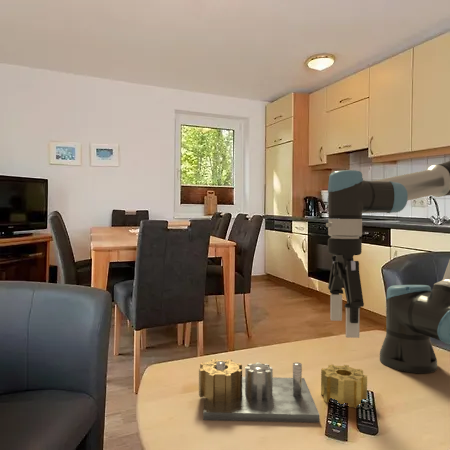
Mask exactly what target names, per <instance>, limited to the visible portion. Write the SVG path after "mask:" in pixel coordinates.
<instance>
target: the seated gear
mask: <svg viewBox="0 0 450 450" xmlns="http://www.w3.org/2000/svg"><path fill="white" fill-rule="evenodd" d="M218 361H224V362H225V370H217V362H218ZM199 367H200V368H198V397H200V398H205V399H206V398H207V399H208V402H212V403H214V402H215V401H224V402H226V403H230V402H231V400H232V399H235V398H241V397H242V377H243V365H242V363H241V362H239V363H236V362H235V361H233V360H232V359H230V358H229V359H226V360H224V359H217V358H212V359H210V361H207V362H203V361H202V362H201V363H200V364H199Z"/></svg>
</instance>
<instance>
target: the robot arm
mask: <svg viewBox="0 0 450 450" xmlns="http://www.w3.org/2000/svg"><path fill="white" fill-rule="evenodd" d="M327 194H328V195H327V209H328V210H327V211H328V212H327V215H328V216H327V217H328V221H327V222H326V223H325V227H326V228H327V231H328V233H327V235H328V236H329V238H328V239H327V253H328V254H329V255H332V256H331V266H330V271H329V272H330V273H329V280H328V286H327V287H328V288H327V289H328V290H329V292H330V293H329V294H330V303H329V304H330V306H329V307H330V311H329V313H330V314H329V315H330V321H331V322H333V321H335V322H336V321H337V322H339V321H340V322H342V321H343V306H344V308H345V338H353V339H354V338H356V339H357V338H358V339H359V338H360V314H361V313H360V312H361V311H360V310H361V308H363V307H364V305H365V302H364V296H363V290H362V283H361V274H360V261H359V260H354V256H360V255H361V254H362V242H363V241H362V239H361V238H360V237H362V236H363V214H378V213H380V214H381V213H382V214H384V213H385V214H393V213H394V214H395V213H400V212H401V211H403V210H404V209H405V208H406V206H407V203H408V201H411V200H416V199H420V198H424V197H430V196H432V197H435V198H441V197H445V196H450V160H448V161H445V162H442V163H438V164H433V165H431V166H429V167H428V168H427V169H426V170H421V171H416V172H412V173H411V172H410V173H406V174H400V175H396V176H390V177H386V178H385V177H384V178H381V179H376V180H364V178H363V173H362V171H360V170H356V169H355V170H354V169H353V170H352V169H346V170H344V169H343V170H337V171H333V172H331V173H330V174H329V177H328V187H327ZM343 288H344V290H343ZM344 293H345V298H346V303H345V304H344V305H343V295H344ZM385 305H386V306H385V313H386V317H385V322H386V323H385V324H386V325H385V326H386V331H385V337H384V340H383V341H382V345H381V348H380V351H379V361H380V362H381V363H382V364H383V365H384V366H386V367H388V368H391V369H394V370H397V371H400V372H405V373H413V374H429V373H434V372H436V371H437V370H438V360H437V355H436V353H435V351H434V350H435V349H434V347H433V343H432V341H431V340H432V339H434V340H437V341H441V342H442V343H444V344H446V345H449V346H450V259H449V260H448V263H447V266H446V268H445V272H444V274H443V278H442V280H440V281H437V282H435V283H434V284H433V286H432V287H431V286H430V285H427V284H395V285H390V286H389V287H388V288H387V290H386V298H385ZM431 338H432V339H431Z"/></svg>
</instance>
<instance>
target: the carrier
mask: <svg viewBox="0 0 450 450" xmlns="http://www.w3.org/2000/svg"><path fill="white" fill-rule="evenodd" d="M244 368H245V372H244V373H245V375H244V376H242V397H241V398H235V399H232V400H231V402H230V403H226V402H224V401H215V402H214V403H212V402H208V399H207V398H205V402H204V407H203V412H202V414H203V417H202V420H203V421H233V422H234V421H237V422H239V421H240V422H241V421H242V422H243V421H244V422H272V423H273V422H274V423H275V422H278V423H280V422H281V423H283V422H286V423H315V424H316V423H318V424H319V423H320V417H321V415H320V413H319V410H318V408H317V405H316V404H315V401H314V399H313V396H312V394H311V391H310V388H309V386H308V384H307V382H306V380H305V377H302V375H303V373H302V372H303V370H302V369H303V367H302V362H297V361H296V362H295V361H294V362H292V377H276V376H275V377H273V375H274V372H273V370H274V369H273V366H270V364H269V363H261V362H255V363H248V364H247V366H245V367H244ZM217 370H225V362H224V361H218V362H217Z"/></svg>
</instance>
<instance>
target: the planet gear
mask: <svg viewBox="0 0 450 450" xmlns="http://www.w3.org/2000/svg"><path fill="white" fill-rule="evenodd" d="M320 375H321V376H320V377H321V378H320V384H321V385H320V395H321V396H323V401H324V402H325V403H326V404H328V402H329V399H330V398H332V399H335V400H337V401H338V403H340V404H344V403H348V405H349V407H348V408H355V409H356V406H357V405H359V404H361V400H362V399H367V400H368V375H366V374H364V370H363V369H361V368H355V367H352V366H350V365H349V364H343V365H334V364H328V367H326V368H324V367H322V368H321V373H320ZM329 403H330V402H329ZM361 405H362V404H361Z"/></svg>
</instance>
